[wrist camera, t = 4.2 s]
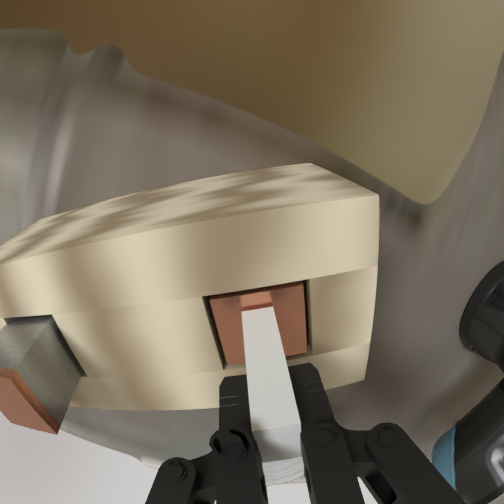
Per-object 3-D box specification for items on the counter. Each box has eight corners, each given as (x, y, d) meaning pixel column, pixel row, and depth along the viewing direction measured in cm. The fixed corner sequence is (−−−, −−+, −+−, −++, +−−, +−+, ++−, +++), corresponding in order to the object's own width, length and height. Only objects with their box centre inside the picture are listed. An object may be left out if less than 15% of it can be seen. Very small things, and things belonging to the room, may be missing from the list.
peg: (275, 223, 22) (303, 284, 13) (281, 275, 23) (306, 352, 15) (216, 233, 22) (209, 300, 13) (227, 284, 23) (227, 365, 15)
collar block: (309, 162, 23) (378, 195, 12) (319, 288, 28) (364, 379, 17) (38, 220, 23) (-41, 276, 12) (78, 321, 27) (33, 400, 16)
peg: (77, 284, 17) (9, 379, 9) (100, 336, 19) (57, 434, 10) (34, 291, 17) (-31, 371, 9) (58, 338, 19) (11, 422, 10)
